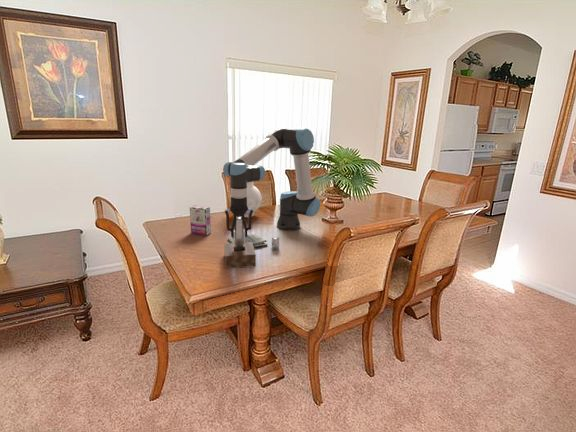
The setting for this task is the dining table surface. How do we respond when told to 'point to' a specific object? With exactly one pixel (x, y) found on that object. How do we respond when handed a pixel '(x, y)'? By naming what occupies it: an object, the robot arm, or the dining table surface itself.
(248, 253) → the hole block
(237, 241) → the long pin
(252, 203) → the vase
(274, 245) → the short pin
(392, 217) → the dining table surface
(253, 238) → the dish towel
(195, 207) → the candy bar box
